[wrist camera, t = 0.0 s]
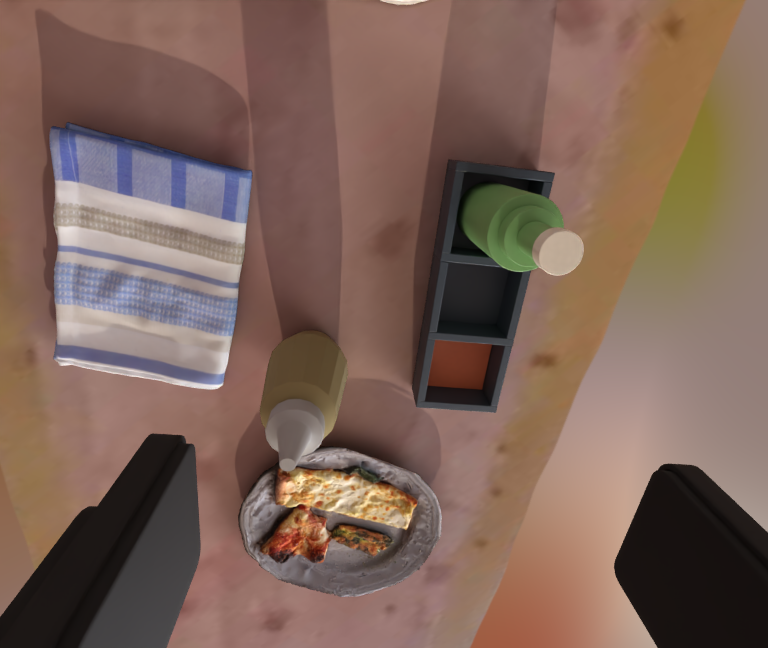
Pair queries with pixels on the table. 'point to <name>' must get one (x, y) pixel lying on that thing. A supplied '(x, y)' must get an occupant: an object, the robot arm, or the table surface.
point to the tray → (469, 302)
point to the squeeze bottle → (302, 394)
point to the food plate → (340, 522)
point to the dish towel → (145, 257)
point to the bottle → (518, 229)
